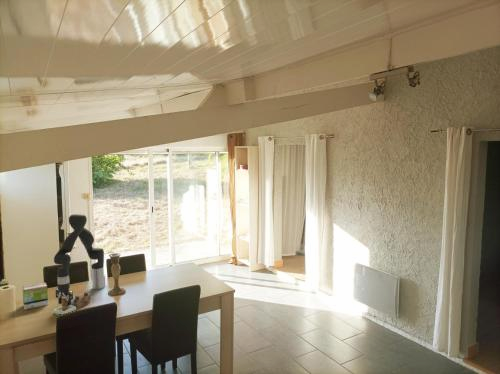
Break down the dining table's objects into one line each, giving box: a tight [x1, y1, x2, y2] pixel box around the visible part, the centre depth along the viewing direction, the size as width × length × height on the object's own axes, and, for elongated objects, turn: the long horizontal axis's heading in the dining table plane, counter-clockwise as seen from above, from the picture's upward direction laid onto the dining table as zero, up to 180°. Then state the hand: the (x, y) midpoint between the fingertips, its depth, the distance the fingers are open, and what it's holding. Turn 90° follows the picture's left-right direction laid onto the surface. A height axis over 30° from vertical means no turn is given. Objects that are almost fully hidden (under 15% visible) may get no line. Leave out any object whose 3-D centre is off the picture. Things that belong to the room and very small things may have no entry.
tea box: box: [22, 282, 49, 310], centre depth 266 cm, size 15×10×15 cm
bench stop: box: [74, 291, 91, 310], centre depth 266 cm, size 12×3×8 cm, turn 157°
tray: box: [53, 305, 77, 315], centre depth 255 cm, size 10×10×3 cm
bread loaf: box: [61, 297, 68, 311], centre depth 255 cm, size 4×4×9 cm
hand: (64, 304), depth 255 cm, fingers open, 8 cm apart
